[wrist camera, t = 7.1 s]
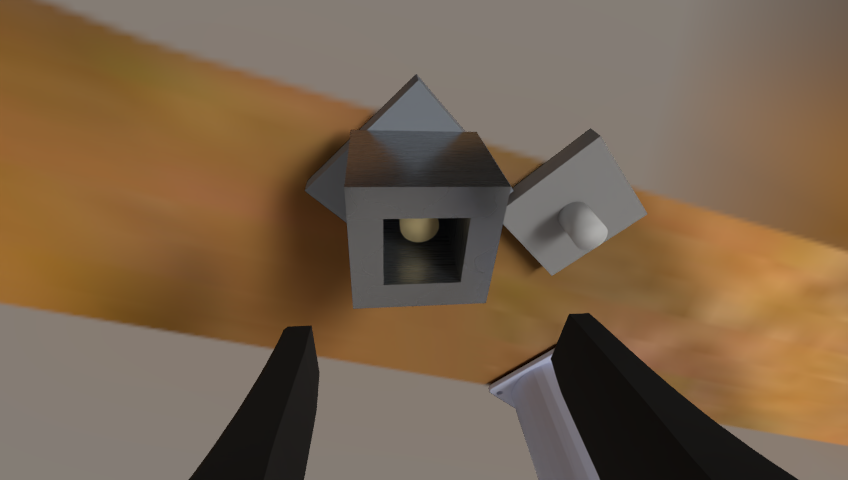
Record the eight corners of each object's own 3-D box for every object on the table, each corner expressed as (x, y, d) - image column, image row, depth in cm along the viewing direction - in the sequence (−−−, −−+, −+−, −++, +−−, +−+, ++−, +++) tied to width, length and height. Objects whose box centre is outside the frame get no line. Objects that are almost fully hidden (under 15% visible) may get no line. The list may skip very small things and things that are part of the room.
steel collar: (476, 132, 16) (511, 186, 12) (462, 233, 20) (485, 302, 16) (350, 129, 16) (344, 187, 12) (356, 235, 19) (353, 308, 15)
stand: (636, 204, 21) (671, 235, 19) (545, 264, 23) (566, 300, 21) (590, 128, 18) (624, 153, 16) (489, 205, 20) (505, 238, 18)
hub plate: (507, 181, 19) (535, 224, 16) (407, 259, 21) (413, 311, 18) (416, 73, 16) (428, 102, 12) (307, 180, 18) (293, 227, 15)
